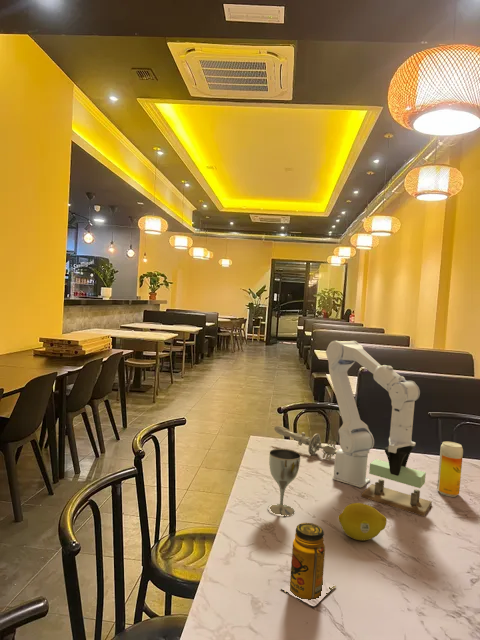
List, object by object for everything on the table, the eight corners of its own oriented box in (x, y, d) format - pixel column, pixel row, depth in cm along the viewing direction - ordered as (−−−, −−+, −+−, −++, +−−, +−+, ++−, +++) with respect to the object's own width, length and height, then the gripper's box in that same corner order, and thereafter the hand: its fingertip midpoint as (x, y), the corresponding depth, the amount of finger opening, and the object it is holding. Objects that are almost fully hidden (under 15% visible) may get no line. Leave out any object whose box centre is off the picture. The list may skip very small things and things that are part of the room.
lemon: (335, 541, 102) (337, 507, 102) (338, 525, 110) (341, 493, 109) (384, 552, 99) (387, 517, 98) (384, 535, 106) (387, 502, 106)
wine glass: (300, 508, 117) (304, 452, 117) (290, 520, 110) (295, 461, 110) (272, 500, 121) (275, 446, 120) (261, 512, 114) (265, 454, 113)
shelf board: (369, 473, 127) (370, 463, 127) (375, 468, 131) (375, 459, 131) (420, 488, 119) (421, 477, 119) (424, 482, 123) (425, 472, 123)
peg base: (361, 496, 127) (362, 482, 127) (371, 487, 135) (373, 474, 134) (423, 516, 117) (425, 501, 117) (431, 505, 125) (432, 491, 125)
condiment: (280, 590, 84) (284, 527, 83) (304, 571, 90) (308, 513, 89) (313, 609, 79) (318, 543, 78) (336, 587, 85) (341, 526, 85)
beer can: (461, 498, 130) (466, 448, 130) (439, 495, 131) (443, 445, 131) (455, 490, 136) (460, 442, 136) (434, 487, 137) (438, 439, 137)
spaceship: (282, 420, 175) (273, 415, 169) (366, 452, 153) (359, 449, 147) (275, 439, 173) (265, 435, 167) (359, 475, 152) (351, 472, 146)
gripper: (409, 432, 116) (404, 483, 117) (423, 422, 128) (419, 468, 129) (382, 426, 120) (378, 475, 121) (398, 417, 132) (394, 462, 133)
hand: (397, 471), depth 125 cm, fingers closed on shelf board, 5 cm apart
